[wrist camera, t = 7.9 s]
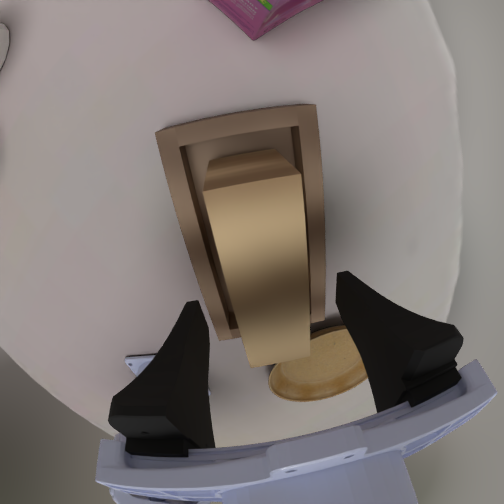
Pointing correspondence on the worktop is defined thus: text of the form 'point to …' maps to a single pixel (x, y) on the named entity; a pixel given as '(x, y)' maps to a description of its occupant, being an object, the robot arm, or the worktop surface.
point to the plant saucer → (320, 368)
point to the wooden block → (262, 251)
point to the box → (261, 13)
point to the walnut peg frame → (234, 143)
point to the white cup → (3, 43)
